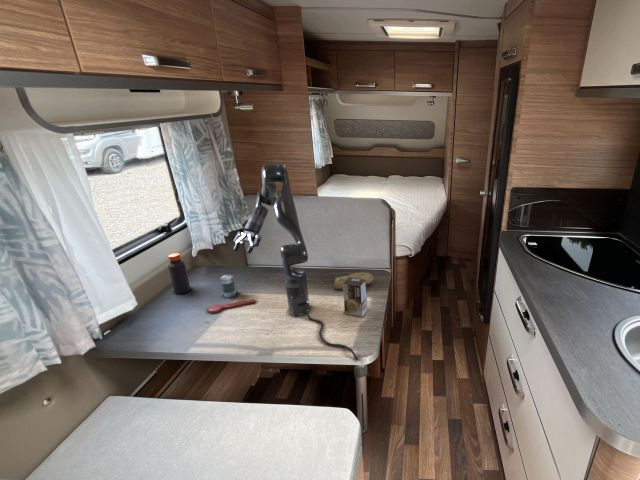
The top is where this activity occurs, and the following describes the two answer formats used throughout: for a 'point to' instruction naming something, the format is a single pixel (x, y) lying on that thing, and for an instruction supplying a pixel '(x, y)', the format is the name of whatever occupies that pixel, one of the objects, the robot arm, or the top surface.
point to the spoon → (228, 306)
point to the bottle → (178, 274)
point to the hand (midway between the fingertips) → (241, 251)
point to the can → (228, 285)
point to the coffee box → (355, 296)
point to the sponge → (342, 279)
